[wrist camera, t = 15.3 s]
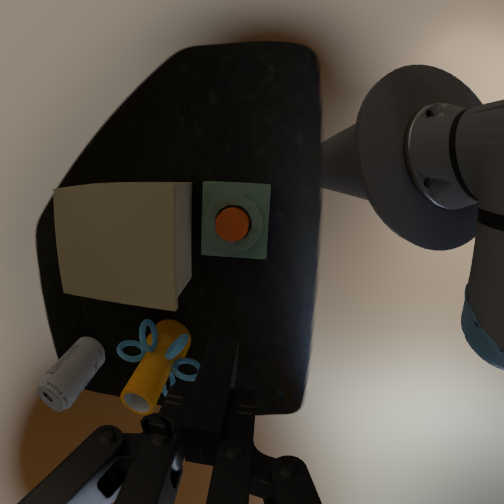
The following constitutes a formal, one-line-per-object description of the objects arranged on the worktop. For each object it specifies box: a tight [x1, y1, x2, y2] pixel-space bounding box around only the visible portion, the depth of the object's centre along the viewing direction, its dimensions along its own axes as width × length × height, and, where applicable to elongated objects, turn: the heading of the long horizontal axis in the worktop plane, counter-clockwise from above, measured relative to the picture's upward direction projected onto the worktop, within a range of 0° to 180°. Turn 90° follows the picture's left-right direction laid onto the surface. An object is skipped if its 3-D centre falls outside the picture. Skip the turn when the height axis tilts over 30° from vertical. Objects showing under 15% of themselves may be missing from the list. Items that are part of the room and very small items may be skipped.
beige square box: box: [64, 182, 192, 297], centre depth 32 cm, size 15×13×9 cm
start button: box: [215, 207, 249, 242], centre depth 31 cm, size 4×4×2 cm
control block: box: [201, 181, 271, 259], centre depth 33 cm, size 8×9×4 cm
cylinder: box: [117, 319, 200, 415], centre depth 33 cm, size 12×10×15 cm
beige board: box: [53, 185, 178, 311], centre depth 27 cm, size 15×13×1 cm
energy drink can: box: [38, 337, 105, 412], centre depth 35 cm, size 6×6×15 cm
